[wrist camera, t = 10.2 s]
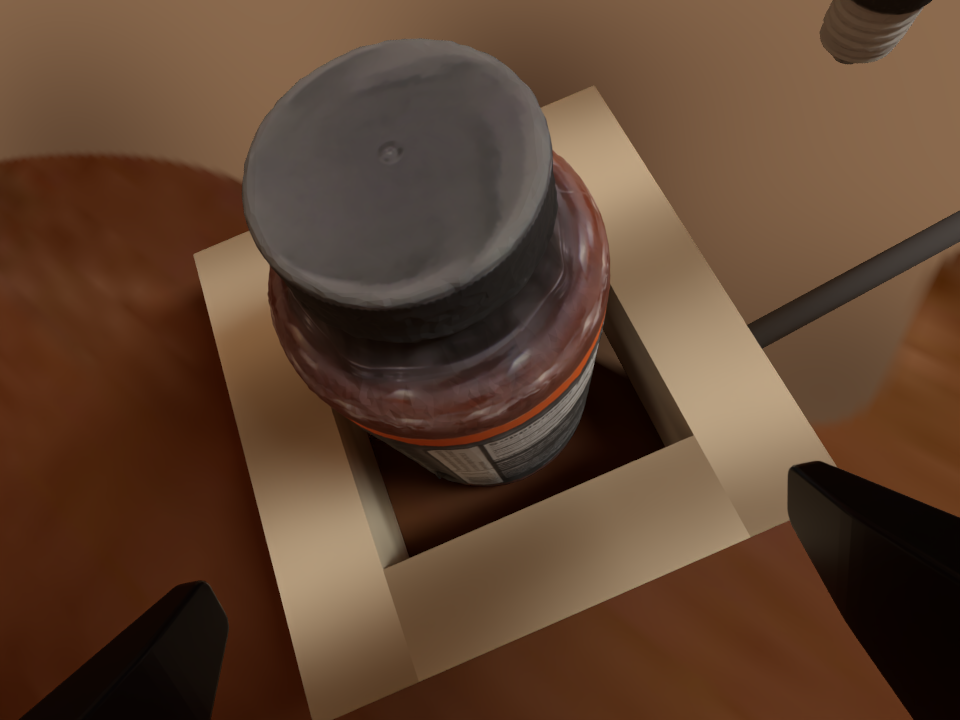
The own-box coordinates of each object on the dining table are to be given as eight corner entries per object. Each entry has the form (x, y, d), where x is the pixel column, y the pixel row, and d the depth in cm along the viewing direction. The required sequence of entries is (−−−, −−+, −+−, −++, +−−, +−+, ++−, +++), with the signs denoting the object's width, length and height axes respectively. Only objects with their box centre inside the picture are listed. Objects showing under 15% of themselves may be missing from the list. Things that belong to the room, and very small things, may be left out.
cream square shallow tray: (798, 503, 16) (852, 492, 13) (358, 695, 15) (314, 727, 13) (588, 151, 20) (594, 85, 17) (244, 297, 20) (193, 254, 17)
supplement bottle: (363, 361, 19) (106, 99, 8) (524, 273, 19) (484, -93, 8) (447, 529, 16) (252, 483, 6) (625, 428, 17) (746, 210, 6)
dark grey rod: (727, 369, 17) (735, 360, 16) (711, 347, 17) (719, 337, 16) (1088, 173, 18) (1112, 156, 17) (1067, 155, 18) (1090, 137, 17)
